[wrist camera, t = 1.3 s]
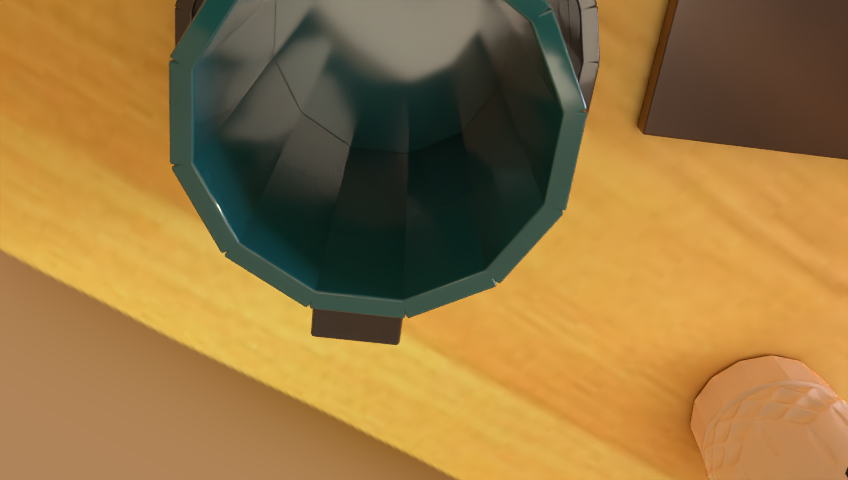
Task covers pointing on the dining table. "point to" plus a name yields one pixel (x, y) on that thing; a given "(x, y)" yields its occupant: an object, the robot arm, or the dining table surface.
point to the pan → (569, 4)
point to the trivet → (752, 75)
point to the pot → (375, 147)
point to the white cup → (771, 423)
